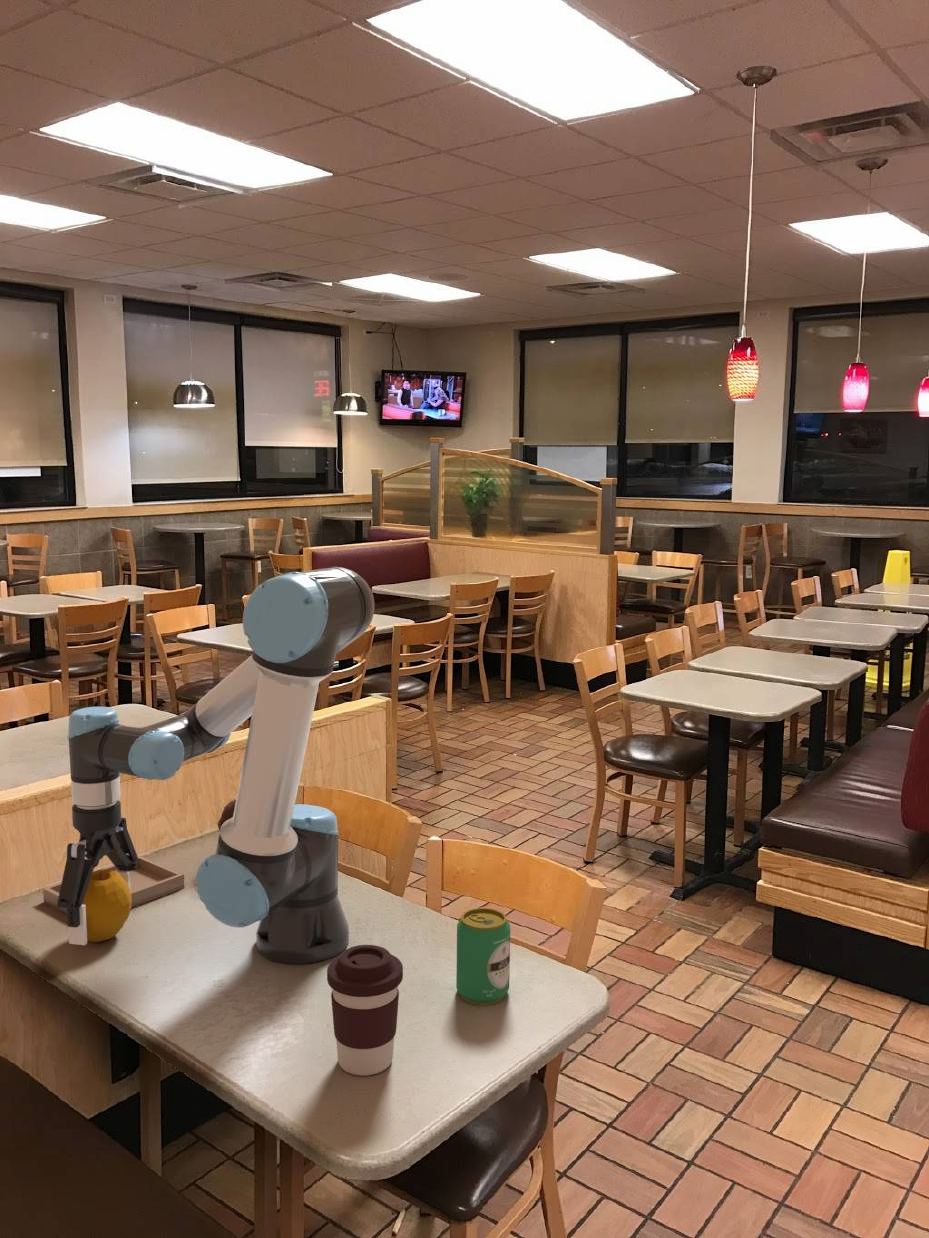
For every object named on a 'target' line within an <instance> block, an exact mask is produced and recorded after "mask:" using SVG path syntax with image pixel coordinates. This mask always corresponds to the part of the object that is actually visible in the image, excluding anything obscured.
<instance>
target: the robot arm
mask: <svg viewBox="0 0 929 1238" xmlns="http://www.w3.org/2000/svg"><path fill="white" fill-rule="evenodd" d="M242 614H243V615H242V629H243V633H244V635H245V636H246V637H247V638H248V640H247V644H248V646H249V648H251V650H252V653H251V655H250V656H249V657H248V658H247V659H245V660H244V661H243V662H241V663H240V665H238V666H237V667H236V668H235V669H233V670H232V671H231V672H229V674H227V676H225V677H224V678H223V679H222V680H221V681H220V682H219V683H217V684H216V685H215V686H214V687H213V688H212V689H211V690H209V691H208V692H207V693H206V694H205V695H204V696H202V697H201V698H200V699H199V700H198V701H197V702H196V703H195V704H194V705H192V706H191V707H190V708H189V709H187V710H186V711H185V712H183V713H181V714H180V715H176V716H174V717H171V718H167V719H165V720H162V721H159V722H156V723H152V724H149V725H147V726H143V727H136V726H127V725H123V724H119V723H120V722H119V721H120V720H119V718H118V711H116V710H115V709H113V708H112V707H109V706H88V707H82V708H79V709H76V710H74V711H73V712H72V713H70V715H69V717H68V734H67V735H68V736H67V740H68V750H69V751H68V752H69V767H70V768H69V769H70V770H69V771H70V781H71V782H70V786H71V788H70V789H71V802H72V803H73V805H72V807H71V815H72V816H71V817H72V826H73V828H74V830H77V831H78V832H79V840H78V842H76V843H73V842H70V843H68V844H67V847H66V861H65V866H64V871H63V874H62V875H63V876H62V880H61V882H62V883H61V882H60V883H61V888H60V893H59V897H58V902H57V907H59V908H67V914H66V915H67V926H68V942H69V944H70V945H80V946H86V945H87V944H88V940H87V927H86V905H83V904H82V903H83V900H84V897H85V894H86V891H87V888H88V885H89V882H90V879H91V876H92V873H93V871H95V868H96V867H98V865H99V863H100V860H102V859H103V857H104V856H106V857H107V858H108V859H109V861H110V862H111V863H112V865H115V867H116V868H117V869H119V870H115V872H117V873H119V874H120V875H121V876H122V878H123V879H124V880H125V881H126V883H127V884H128V886H129V888H130V893H131V884H130V870H135V869H136V866H137V865H136V864H134V863H133V862H137V859H138V854H137V852H136V849H135V846H134V843H133V841H132V838H131V835H130V833H129V831H128V825H127V819H126V817H122V803H121V801H120V799H121V796H122V795H121V794H122V793H121V777H120V774H122V775H123V774H124V775H127V776H133V777H136V778H137V777H138V778H141V779H143V780H149V781H150V780H151V781H153V780H157V781H158V780H159V781H166V780H169V779H171V778H172V777H174V776H175V774H176V773H177V772H178V771H179V770H180V769H181V767H182V765H183V763H184V762H187V761H189V760H192V759H195V758H198V757H201V756H203V755H207V754H211V753H213V752H215V751H217V749H220V748H221V747H223V746H224V745H226V744H227V743H228V741H229V740H230V735H231V733H232V732H234V731H235V730H236V729H238V727H239V726H240V725H242V724H243V723H244V722H246V720H247V721H248V719H250V722H249V723H250V724H249V729H248V735H247V741H246V744H245V750H244V756H243V762H242V768H241V773H240V777H239V783H238V787H237V794H236V798H235V799H236V804H235V809H234V815H233V817H232V818H230V819H229V820H227V821H225V822H224V823H223V824H222V826H221V829H220V831H219V834H218V839H217V845H216V849H215V853H214V854H211V855H209V856H208V857H206V858H205V859H204V861H202V863H201V864H200V865H199V868H198V870H197V872H196V876H195V877H196V878H195V879H196V880H195V882H196V883H195V886H196V889H197V893H198V896H199V899H200V901H201V903H203V905H204V907H205V908H206V911H208V913H209V914H210V915H211V916H212V917H213V918H214V919H216V920H217V921H218V922H220V923H222V924H224V925H226V926H228V927H231V928H246V927H248V926H251V925H253V924H255V923H256V922H259V924H258V926H257V929H256V949H257V951H258V953H259V954H260V955H262V957H265V958H267V959H268V960H271V961H274V962H278V963H282V964H289V965H290V964H291V965H298V964H299V965H304V964H311V963H312V964H314V963H317V962H322V961H325V960H329V959H331V958H333V957H335V956H337V955H339V954H341V953H342V952H343V951H345V950H346V949H347V947H348V944H349V941H350V939H349V938H350V937H349V936H350V931H349V929H350V928H349V924H348V920H347V918H346V915H345V913H344V909H343V906H342V904H341V901H340V898H339V871H338V869H339V853H338V851H339V835H340V834H339V829H338V821H337V820H338V818H337V816H336V814H335V813H334V811H332V810H331V809H328V808H326V807H323V806H318V805H312V804H302V803H301V804H299V803H297V804H296V799H297V794H298V790H299V784H300V779H301V776H302V770H303V766H304V759H305V755H306V750H307V746H308V740H309V736H310V731H311V726H312V720H313V717H314V711H315V708H316V707H315V705H316V701H317V697H318V696H317V695H318V692H319V691H318V690H319V686H320V683H321V681H323V680H325V679H326V678H328V677H330V676H332V673H333V670H334V665H335V660H336V657H337V654H339V653H340V652H341V651H342V650H343V649H345V648H346V647H348V646H349V645H350V644H352V643H353V642H354V641H355V640H357V639H358V638H360V637H362V636H363V634H365V632H366V631H367V630H368V629H369V627H370V625H371V624H372V621H373V617H374V614H375V598H374V595H373V592H372V589H371V588H370V585H369V583H367V581H366V580H365V579H364V578H363V577H362V576H361V575H359V574H358V573H357V572H355V571H353V570H352V569H349V568H345V567H340V566H329V567H321V568H318V569H311V570H306V571H299V572H298V571H291V572H285V573H282V574H279V575H277V576H275V577H272V578H268V579H267V580H265V581H264V582H262V583H261V584H259V585H258V586H256V588H255V589H254V590H253V591H252V592H251V594H250V596H249V597H248V599H247V601H246V604H245V606H244V609H243V613H242ZM250 717H251V718H250ZM76 899H77V900H76Z"/></svg>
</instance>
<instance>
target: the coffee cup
mask: <svg viewBox="0 0 929 1238" xmlns="http://www.w3.org/2000/svg"><path fill="white" fill-rule="evenodd" d="M339 954H340V955H339V956H337V957H335V958H334V959H333V960H331V961H330V963H329V964H328V966H327V970H326V979H327V984H328V986H329V987H330V988H331V989H332V990H331V996H330V997H331V1008H332V1009H331V1010H332V1020H333V1021H332V1023H333V1035H334V1037H335V1041H336V1051H337V1052H336V1053H337V1062H338V1065H339V1067H340V1068H341V1069H342V1070H344V1071H345V1072H346V1073H348V1074H351V1075H355V1076H361V1077H363V1076H364V1077H365V1076H372V1075H376V1074H380V1073H382V1072H383V1071H384V1070H386V1069H388V1068H389V1067H390V1066H391V1063H392V1061H393V1057H394V1045H395V1044H394V1043H395V1036H396V1033H397V1028H398V1027H397V1025H398V1024H397V1023H398V1011H399V1001H400V1000H399V999H400V998H399V996H400V991H399V986H400V984H401V983H402V982H403V977H404V971H403V970H404V965H403V963H402V962H401V959H399V958H398V957H396V956H395V955H393V954H391V952H390V951H389V950H387V949H386V948H384V947H381V946H380V945H376V944H375V945H374V944H359V945H358V944H357V945H354V946H351V947H348V948H345V949H344V950H343V951H342V952H340V953H339Z"/></svg>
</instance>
